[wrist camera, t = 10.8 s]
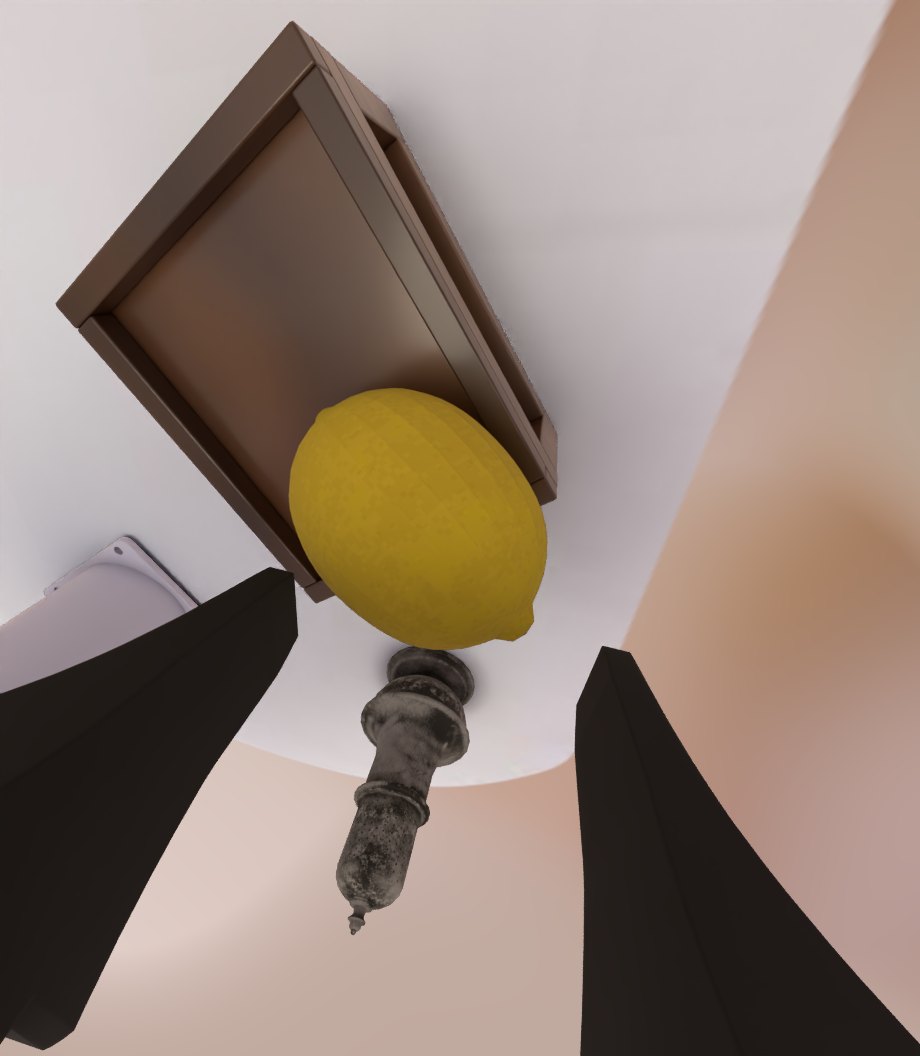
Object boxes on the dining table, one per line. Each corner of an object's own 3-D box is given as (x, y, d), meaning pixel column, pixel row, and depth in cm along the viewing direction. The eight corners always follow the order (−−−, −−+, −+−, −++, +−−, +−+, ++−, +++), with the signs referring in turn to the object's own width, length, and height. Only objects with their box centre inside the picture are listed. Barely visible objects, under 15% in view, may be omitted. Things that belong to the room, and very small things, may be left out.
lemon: (283, 511, 15) (445, 709, 13) (175, 420, 9) (422, 733, 7) (413, 410, 16) (582, 579, 14) (381, 277, 10) (648, 519, 8)
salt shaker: (374, 692, 28) (271, 933, 18) (393, 628, 25) (283, 876, 15) (462, 724, 28) (409, 982, 18) (493, 664, 25) (449, 937, 15)
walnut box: (369, 528, 22) (315, 604, 17) (190, 292, 18) (53, 304, 13) (557, 434, 18) (558, 499, 13) (385, 102, 14) (291, 16, 9)
